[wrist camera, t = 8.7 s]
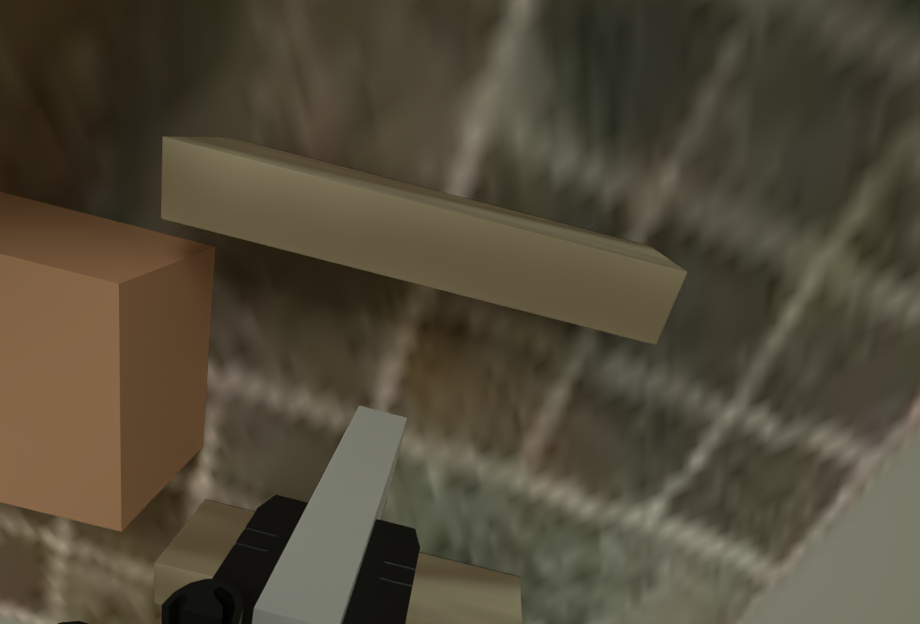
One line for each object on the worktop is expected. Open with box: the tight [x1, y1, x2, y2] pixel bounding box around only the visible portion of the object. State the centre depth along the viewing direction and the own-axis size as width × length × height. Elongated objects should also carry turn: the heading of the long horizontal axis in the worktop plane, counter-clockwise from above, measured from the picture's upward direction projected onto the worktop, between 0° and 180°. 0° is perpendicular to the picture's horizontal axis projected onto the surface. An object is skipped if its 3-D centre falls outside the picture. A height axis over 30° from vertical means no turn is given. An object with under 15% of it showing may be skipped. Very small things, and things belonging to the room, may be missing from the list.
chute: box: [154, 137, 687, 624], centre depth 16 cm, size 16×13×3 cm
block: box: [0, 191, 215, 532], centre depth 15 cm, size 8×10×4 cm
